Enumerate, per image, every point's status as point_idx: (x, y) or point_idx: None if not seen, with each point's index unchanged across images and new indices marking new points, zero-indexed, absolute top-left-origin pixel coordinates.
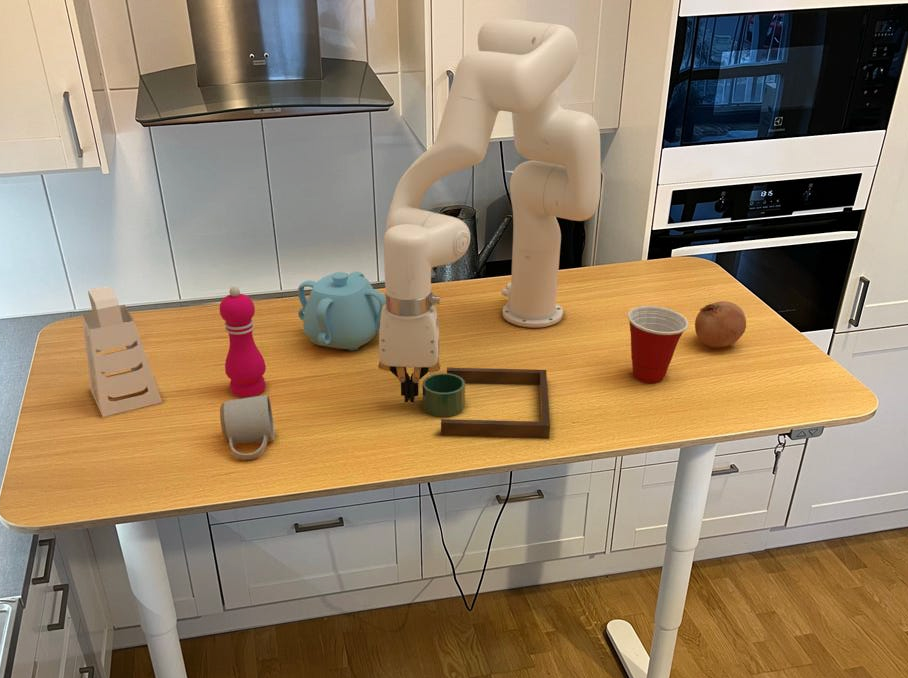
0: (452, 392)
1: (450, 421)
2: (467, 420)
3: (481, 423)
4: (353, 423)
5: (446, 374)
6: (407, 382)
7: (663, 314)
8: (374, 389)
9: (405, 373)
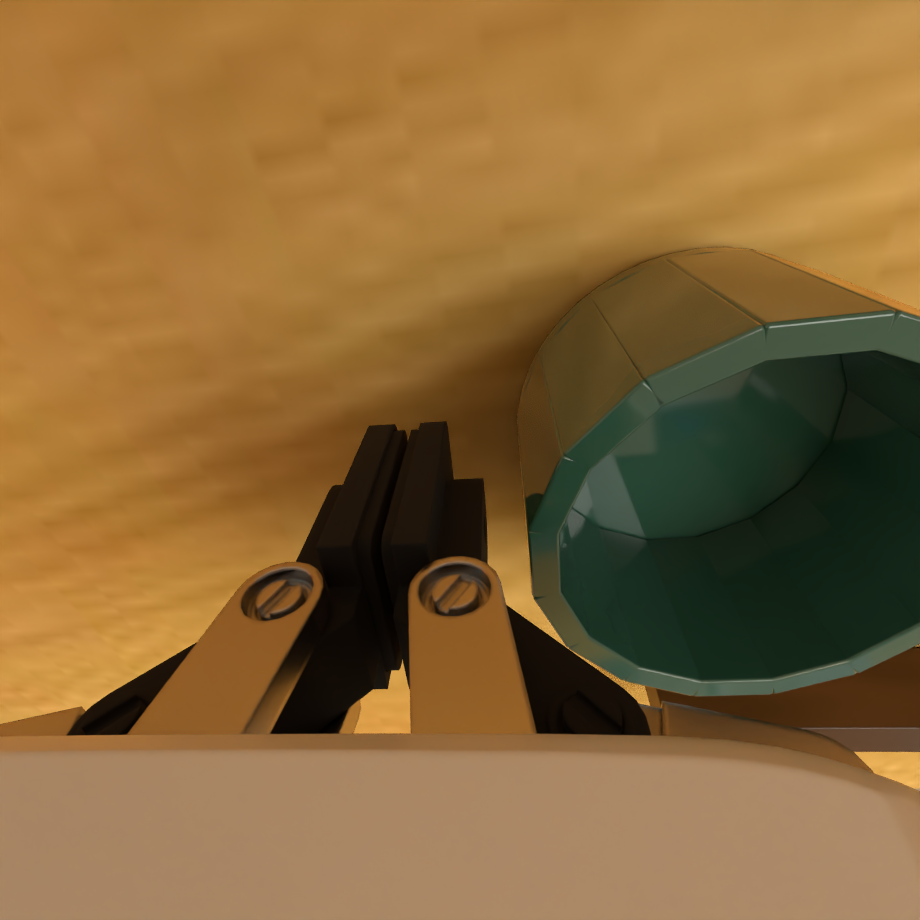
0: (827, 678)
1: None
2: (834, 734)
3: (916, 750)
4: (173, 620)
5: (857, 351)
6: (384, 663)
7: None
8: (43, 217)
9: (324, 676)
